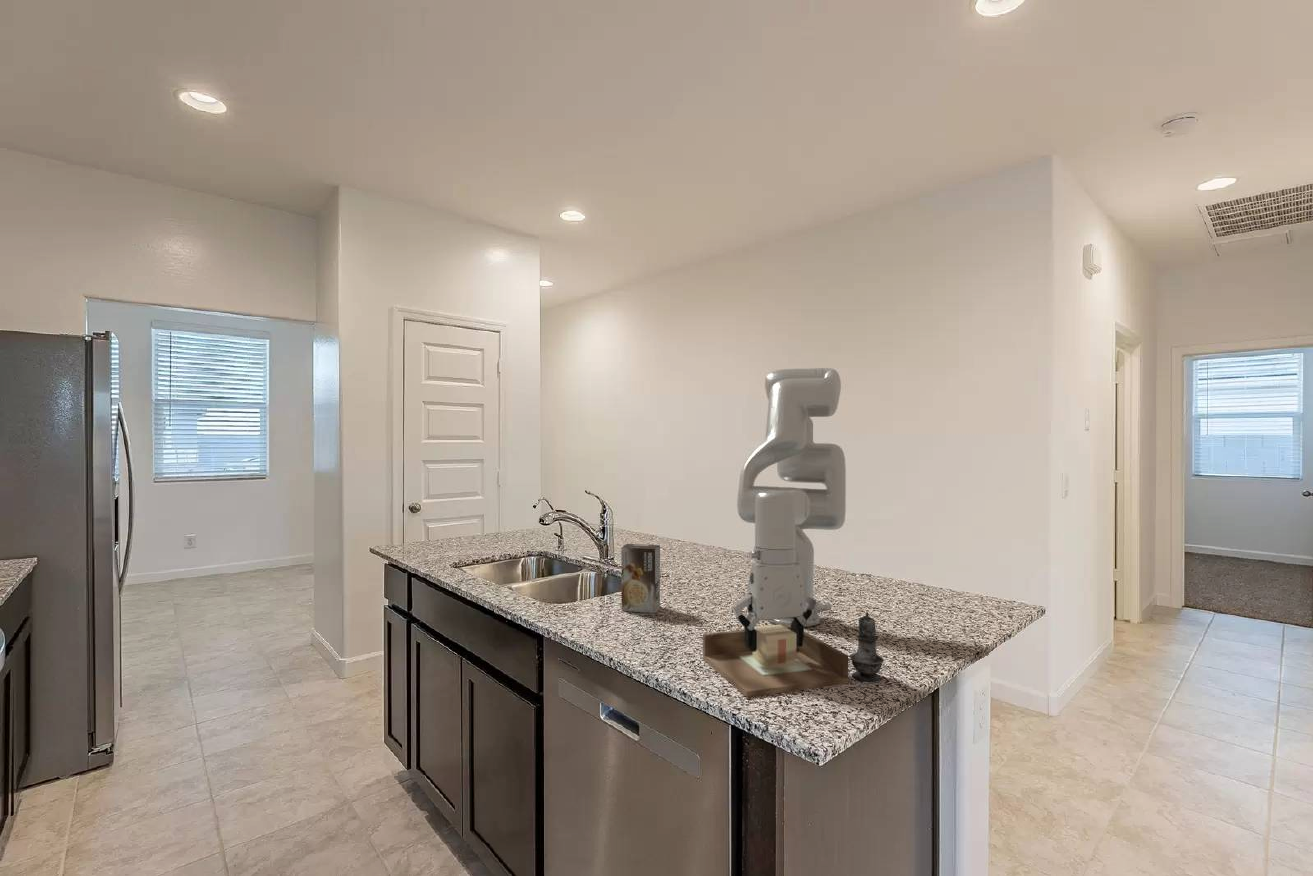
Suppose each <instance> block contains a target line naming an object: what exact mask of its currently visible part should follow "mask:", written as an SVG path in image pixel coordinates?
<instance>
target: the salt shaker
mask: <svg viewBox="0 0 1313 876" xmlns="http://www.w3.org/2000/svg"><path fill="white" fill-rule="evenodd" d="M856 638H857V639H858V640H857V641H858V644H857V645H858V646H857V647H858V648H857V651H856V652H855V653H852V654H850V656H849V659H851V664H852V666H853V668H854V669H855V670H856V671H854V672H853V673H851V678H852V679H853V680H855V681H857V682H860V683H864V682H867V683H866V684H878V683H877V682H879V683H881V682H882V681H883V677H881V676H880V675H879V671H880V670H881V669H882V667H883V663H884V662H885V659H884V658H883V657H882V656H880V655H878V654H877V650H876V647H877V644H876V643H877V642H876V641H877V640H878V636H876V620H875V619H874V618H873V617H871V616H870V614H869V612H868V611H866V613H865V615H864V616H862V617H860V618H859V620H858V634H857V635H856Z"/></svg>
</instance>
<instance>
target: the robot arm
mask: <svg viewBox="0 0 1313 876" xmlns="http://www.w3.org/2000/svg"><path fill="white" fill-rule="evenodd" d="M841 385H842V382H841V377H840V374H839V372H838V371H837V370H836V369H835V368H829V367H824V368H823V367H822V368H819V367H818V368H816V367H815V368H784V369H777V370H773V371H771V372H769V373H768V374H767V375H766V376H765V378H764V388H765V389H764V390H765V394H766V397H767V400H768V404H767V415H766V416H767V417H766V426H765V427H766V428H765V438H764V439H765V440H764V441H763V443H761V444H760V445H759V446H757V448H755V449H754V451H753V452H752V453H751V454H750V455H749V457H748V458H747V459H746V461H745V462H744V464H743V466H742V469H741V472H740V475H739V482H738V483H739V484H738V490H737V492H738V493H737V500H736V501H737V504H736V505H737V506H736V507H737V512H738V513H737V514H738V515H739V518H740V519H741V520H742V521H743V522H746V523H748V524H754V546H753V550H752V551H749V552H748V558H749V559H751V560H752V559H753V561H754V562H752V563H751V565H750V566H751V567H750V570H749V575H748V582H747V583H748V584H747V593H746V595H745V596H744V597H743V598H741V599H739V600H738V601H737V602H735V603H733V604H732V605H731V610H732V611H733V614H734V616H735V618H736V620H737V621H738V622H739V623H740V624H741V626H743V627H744V629H743V630H744V642H745V645H746V647H747V648H748V649H750V650H751V651H752V652H755V651H756V650H757V631H756V630H755V629H754V628H755V627H757V625H758V624H759V622H760V621H768V622H770V623H772V624H773V625H782V626H790V625H791V631H793V632H794V633H796V645H797V646H799V647H801V646H803V639H804V632H805V630H804V629H805V628H807V627H814V626H817V625H818V624H820V622H821V617H820V615H819V613H820V612H828V611H829V612H830V611H832V604H831V603H830V602H822V603H821V602H820V601H817V600H816V599H815V598H814V595H815V593H814V591H815V590H814V588H815V587H814V585H815V582H814V581H815V580H814V574H815V572H814V571H815V569H814V568H815V567H814V565H815V562H814V561H815V560H814V559H815V558H814V556H815V549H814V546H813V543H812V541H811V539H810V538H809V537H808V535H807V534H806V533H805V532H804V530H826V531H827V530H828V531H829V530H830V531H831V530H832V531H835V530H840V529H841V528H842V527H843V526H844V524H845V520H846V508H847V504H846V499H847V498H846V492H847V491H846V490H847V489H846V486H847V485H846V479H847V478H846V477H847V476H846V474H847V473H846V472H847V471H846V469H847V468H846V457H845V453H844V451H843V448H841V446H840V445H838V444H835V443H825V442H821V443H820V442H819V443H817V442H816V443H815V441H814V421H813V420H812V418H814V417H817V418H819V417H820V418H826V417H827V418H829V417H832V416H833V415H834V414H835V413H836V411H837V409H838V405H839V401H840V396H841V390H842V389H841V388H842V386H841ZM775 464H776V467H777V468H776V470H777V471H776V472H777V474H778V477H779V478H780V479H781V480H782V481H784V482H790V483H800V484H801V483H802V484H804V483H805V484H806V483H807V484H808V483H809V484H822V485H824V486H825V487H826V488H825V489H824V488H823V489H822V488H804V487H803V488H801V487H792V486H791V487H790V486H789V487H787V486H784V487H783V486H765V485H762V486H761V485H760V486H759V485H756V486H755V485H754V484H755V481H756V479H757V477H758V476H759V474H761V472H763V471H764V470H765V469H767V468H768V467H771V466H772V465H775ZM744 609H747V614H746V616H745V615H744V612H743V610H744Z"/></svg>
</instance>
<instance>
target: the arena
mask: <svg viewBox="0 0 1313 876" xmlns="http://www.w3.org/2000/svg"><path fill="white" fill-rule="evenodd" d="M784 627H786V628H788V629H789V630H791V625H790V626H784ZM744 630H745V629H742V630H731V631H730V630H729V631H721V632H719V631H718V632H710V633H709V632H708V633H703V634H702V660H703V661H704V662H705V663H706V664H708V665H709V667H711V668H712V669H713V668H714V669H715V670H714V669H713V670H714V671H715V672H716V673H717V674H719V675H720V674H721V675H720V676H721V677H722V678H724V679H725V680H726V682H728V683H729V682H730V683H731V684H730V683H729V684H730V685H732V686H733V687H734V688H735V687H736V688H737V689H736V688H735V689H736V690H737V691H739V692H740V694H742V695H743V696H744V697H745V696H746V697H745V698H752V696H754V697H759V696H768V695H775V694H783V693H790V692H797V691H805V690H811V689H819V688H827V687H834V686H841V685H848V684H849V655H848V654H847V653H845V652H843V651H841V650H839V649H837V648H835V647H834V646H831V645H830V644H829V643H827V642H825V641H822V640H821V639H819V638H817V637H815V636H814V635H811V634H810V633H808V632H806V631H804V639H803V646H801V647H799V646H797V645H796V666H791V667H783V668H774V669H766V668H765V667H764V666H762V665H761V664H760V663H758V662H757V661H755V660H754V659H753V652H752V651H751V650H750V649H748V648H747V647H746V645H745V642H744Z"/></svg>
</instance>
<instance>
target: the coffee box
mask: <svg viewBox="0 0 1313 876" xmlns="http://www.w3.org/2000/svg"><path fill="white" fill-rule="evenodd" d="M620 551H621V552H620V554H621V555H620V559H621V561H620V562H621V564H620V565H621V566H620V567H621V568H620V569H621V571H620V572H621V575H620V576H621V577H620V578H621V579H620V580H621V583H620V584H621V587H620V588H621V590H620V592H621V593H620V594H621V605H620V606H621V612H636V613H652V614H657V612H658V611H659V609H661V545H660V544H644V543H643V544H641V543H638V544H637V543H627V544H624V545H623V546H622V547H621V550H620Z"/></svg>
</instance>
